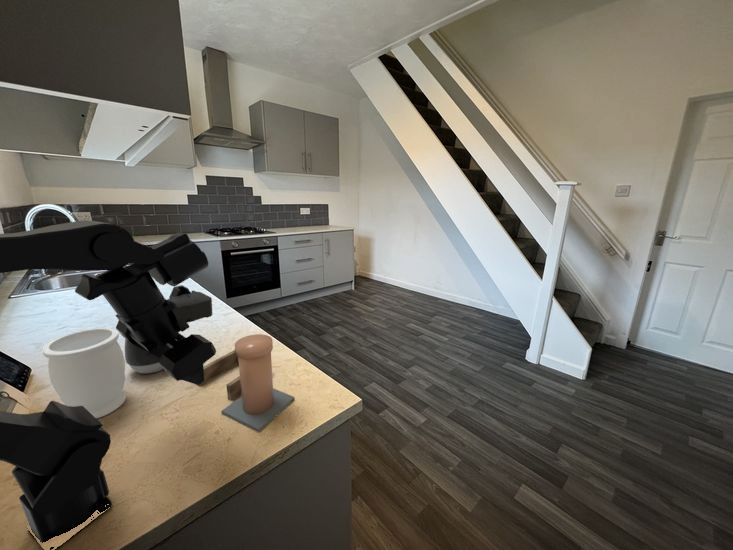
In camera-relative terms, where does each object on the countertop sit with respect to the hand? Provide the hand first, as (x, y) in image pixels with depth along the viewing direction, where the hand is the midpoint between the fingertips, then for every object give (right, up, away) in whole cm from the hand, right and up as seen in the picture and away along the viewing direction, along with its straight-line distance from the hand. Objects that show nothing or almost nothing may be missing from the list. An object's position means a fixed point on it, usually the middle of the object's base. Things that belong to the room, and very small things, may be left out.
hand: (186, 371), depth 51 cm
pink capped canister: (+10, -10, +9) cm, 16 cm away
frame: (+1, -8, +17) cm, 19 cm away
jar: (-22, -10, +7) cm, 25 cm away
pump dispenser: (-21, -6, +21) cm, 30 cm away
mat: (+10, -10, +9) cm, 17 cm away
